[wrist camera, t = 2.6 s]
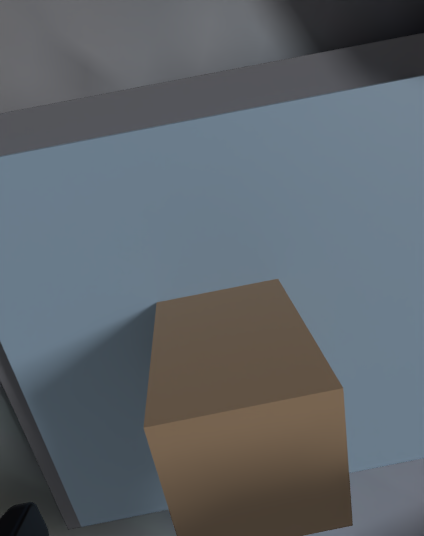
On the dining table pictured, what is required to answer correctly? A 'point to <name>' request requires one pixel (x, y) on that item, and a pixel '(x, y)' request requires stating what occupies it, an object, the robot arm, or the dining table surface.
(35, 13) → the dining table surface
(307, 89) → the mat
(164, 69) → the dining table surface
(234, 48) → the dining table surface
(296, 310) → the cover
